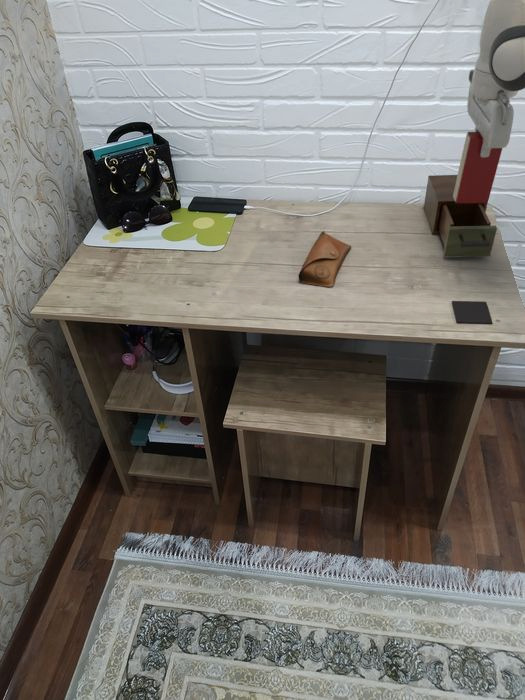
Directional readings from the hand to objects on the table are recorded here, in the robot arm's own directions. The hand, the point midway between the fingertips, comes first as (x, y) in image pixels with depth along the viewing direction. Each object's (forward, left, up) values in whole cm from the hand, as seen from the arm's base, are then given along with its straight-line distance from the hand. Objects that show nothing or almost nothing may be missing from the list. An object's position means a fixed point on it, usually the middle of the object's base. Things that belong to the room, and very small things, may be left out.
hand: (481, 151), depth 121 cm
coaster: (-10, +24, -23) cm, 35 cm away
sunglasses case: (+25, +22, -24) cm, 41 cm away
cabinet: (+6, -10, -23) cm, 26 cm away
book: (0, 0, -11) cm, 11 cm away
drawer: (-1, +2, -22) cm, 22 cm away
